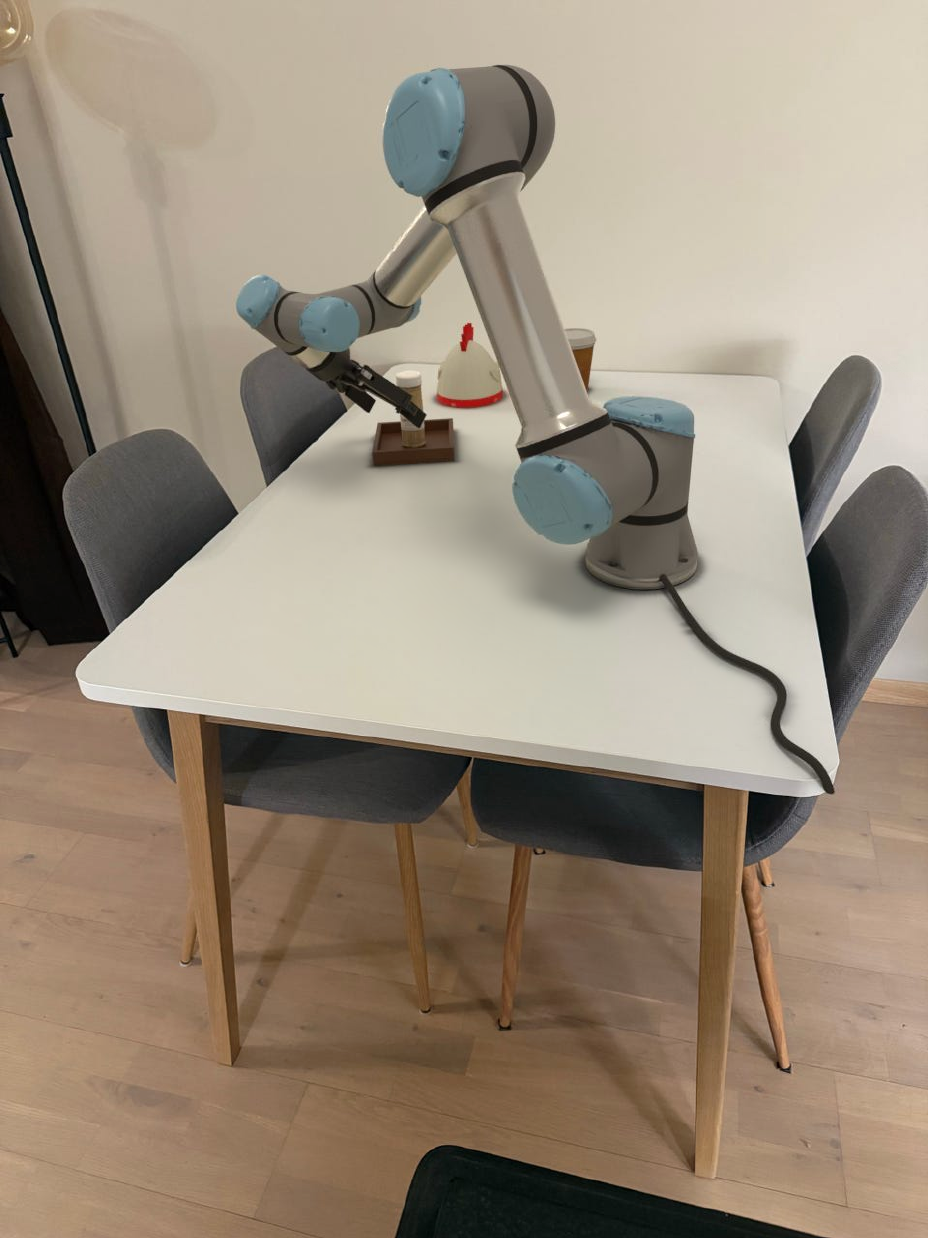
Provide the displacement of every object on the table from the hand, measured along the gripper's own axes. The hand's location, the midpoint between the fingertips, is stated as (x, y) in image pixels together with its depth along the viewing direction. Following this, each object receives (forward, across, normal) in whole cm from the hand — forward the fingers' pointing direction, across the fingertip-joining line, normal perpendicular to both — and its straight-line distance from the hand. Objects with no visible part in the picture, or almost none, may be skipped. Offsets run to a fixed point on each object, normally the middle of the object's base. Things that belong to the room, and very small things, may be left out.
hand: (396, 413), depth 163 cm
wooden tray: (+8, 0, +3) cm, 9 cm away
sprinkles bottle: (+8, 0, +2) cm, 8 cm away
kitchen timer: (+28, +12, -17) cm, 35 cm away
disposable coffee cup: (+39, -3, -28) cm, 48 cm away
